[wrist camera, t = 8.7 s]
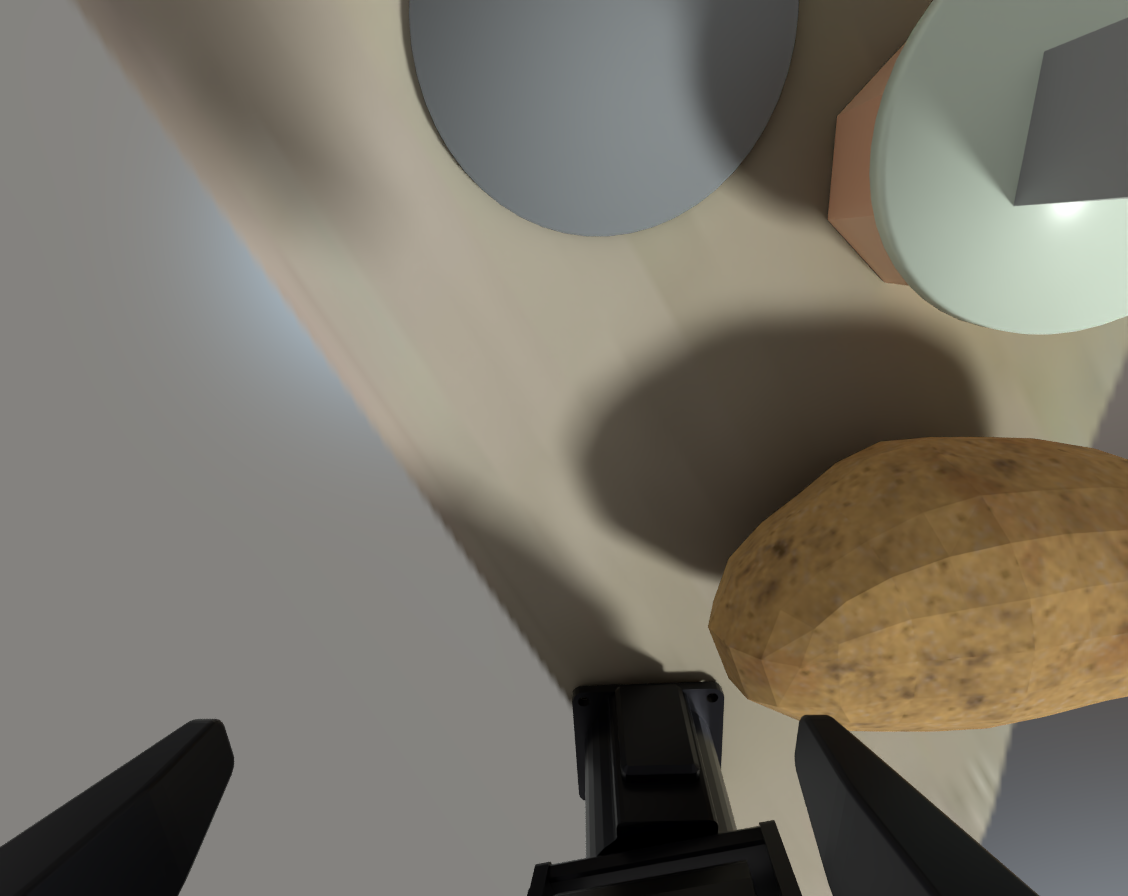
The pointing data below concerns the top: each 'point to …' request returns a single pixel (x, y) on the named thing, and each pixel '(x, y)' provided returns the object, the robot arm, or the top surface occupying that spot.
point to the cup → (860, 176)
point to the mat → (601, 100)
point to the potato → (936, 587)
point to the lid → (1009, 162)
